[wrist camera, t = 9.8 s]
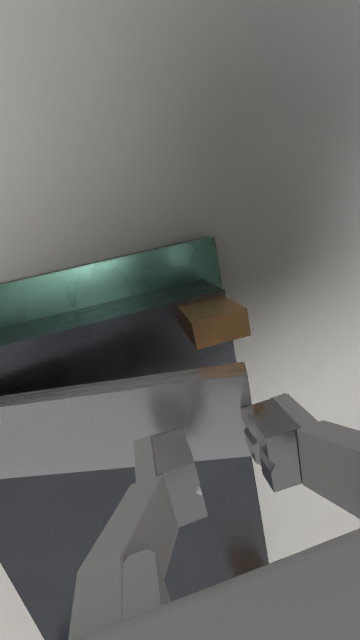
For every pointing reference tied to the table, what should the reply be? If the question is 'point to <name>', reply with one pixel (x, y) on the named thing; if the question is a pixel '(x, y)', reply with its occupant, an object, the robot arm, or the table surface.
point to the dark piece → (111, 364)
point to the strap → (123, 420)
